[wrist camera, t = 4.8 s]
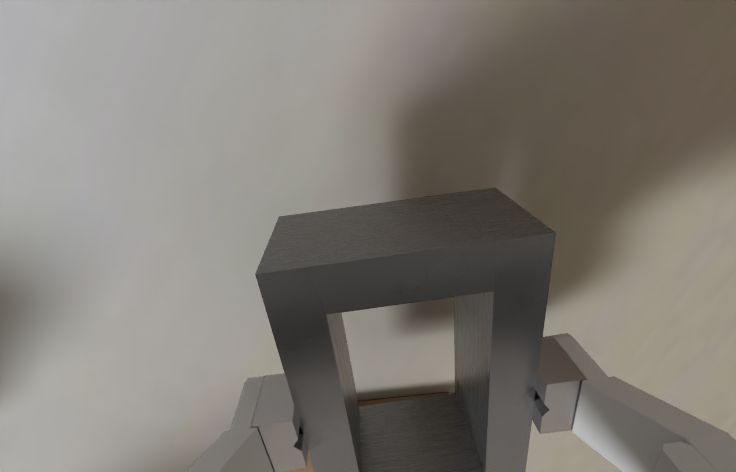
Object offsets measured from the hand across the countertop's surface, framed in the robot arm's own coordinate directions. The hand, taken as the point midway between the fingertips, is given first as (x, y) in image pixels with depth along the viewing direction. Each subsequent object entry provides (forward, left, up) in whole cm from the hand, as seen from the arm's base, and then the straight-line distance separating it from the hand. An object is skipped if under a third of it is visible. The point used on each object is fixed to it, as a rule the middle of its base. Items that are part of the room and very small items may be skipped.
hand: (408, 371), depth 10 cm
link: (0, 0, -2) cm, 2 cm away
